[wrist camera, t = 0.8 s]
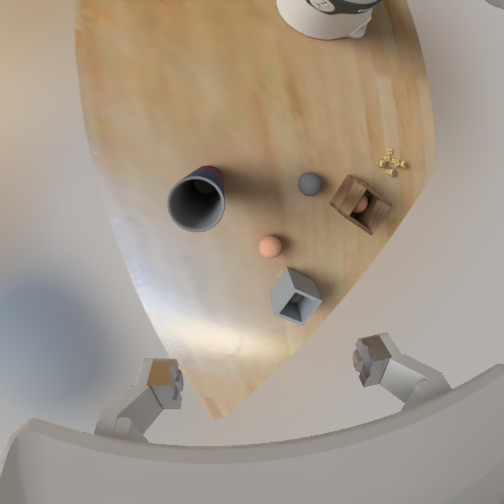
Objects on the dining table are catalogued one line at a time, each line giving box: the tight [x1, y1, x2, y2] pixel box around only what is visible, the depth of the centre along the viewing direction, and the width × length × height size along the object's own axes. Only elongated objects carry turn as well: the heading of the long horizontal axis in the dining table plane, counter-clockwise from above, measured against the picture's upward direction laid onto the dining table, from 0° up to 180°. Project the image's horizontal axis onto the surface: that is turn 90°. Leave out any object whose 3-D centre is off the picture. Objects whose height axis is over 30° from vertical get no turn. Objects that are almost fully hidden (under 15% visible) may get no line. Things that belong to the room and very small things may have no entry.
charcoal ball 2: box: [298, 172, 322, 196], centre depth 44 cm, size 4×4×4 cm
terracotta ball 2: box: [352, 194, 368, 213], centre depth 45 cm, size 4×4×4 cm
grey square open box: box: [270, 267, 323, 325], centre depth 51 cm, size 6×6×7 cm
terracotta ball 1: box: [259, 236, 282, 258], centre depth 48 cm, size 4×4×4 cm
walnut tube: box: [329, 175, 392, 235], centre depth 44 cm, size 6×6×7 cm
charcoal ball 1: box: [289, 292, 303, 303], centre depth 52 cm, size 4×4×4 cm
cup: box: [167, 166, 225, 232], centre depth 37 cm, size 7×7×15 cm
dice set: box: [376, 149, 408, 177], centre depth 44 cm, size 5×5×2 cm
